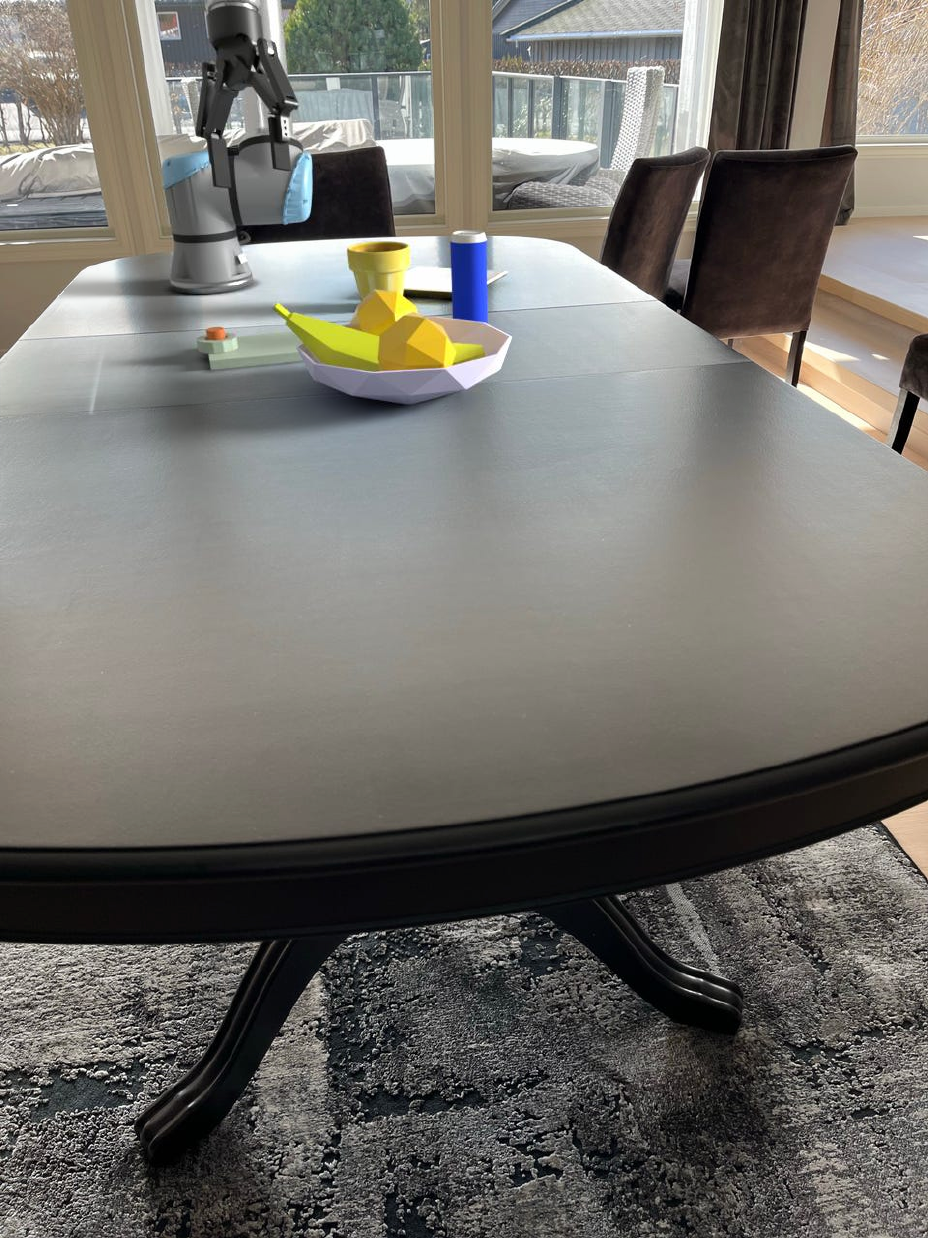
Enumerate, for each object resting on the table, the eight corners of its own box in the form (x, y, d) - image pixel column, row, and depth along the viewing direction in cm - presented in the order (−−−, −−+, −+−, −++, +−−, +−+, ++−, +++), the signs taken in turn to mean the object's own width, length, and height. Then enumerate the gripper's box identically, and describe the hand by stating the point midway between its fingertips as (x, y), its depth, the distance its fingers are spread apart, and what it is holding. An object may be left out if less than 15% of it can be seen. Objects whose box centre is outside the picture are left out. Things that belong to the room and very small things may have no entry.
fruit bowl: (524, 361, 130) (525, 275, 124) (483, 427, 107) (482, 326, 101) (332, 354, 135) (324, 272, 130) (255, 416, 113) (241, 319, 107)
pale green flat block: (198, 349, 140) (195, 329, 139) (314, 338, 144) (312, 318, 142) (201, 371, 130) (197, 349, 129) (325, 358, 134) (323, 337, 132)
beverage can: (492, 336, 142) (491, 230, 134) (481, 345, 137) (479, 236, 130) (460, 334, 143) (457, 229, 135) (448, 343, 139) (444, 235, 131)
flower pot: (404, 314, 156) (400, 251, 151) (344, 313, 158) (338, 251, 153) (419, 300, 164) (416, 240, 159) (362, 299, 166) (357, 240, 161)
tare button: (207, 338, 135) (205, 327, 134) (225, 336, 136) (223, 325, 135) (207, 342, 133) (205, 331, 132) (226, 341, 134) (224, 329, 133)
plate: (373, 297, 167) (373, 285, 166) (417, 277, 182) (417, 266, 181) (471, 304, 161) (471, 291, 160) (508, 282, 176) (508, 270, 174)
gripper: (158, 32, 136) (178, 190, 141) (270, -24, 120) (288, 157, 125) (202, 43, 141) (219, 196, 146) (314, -8, 126) (329, 165, 131)
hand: (251, 178), depth 136 cm, fingers open, 13 cm apart
